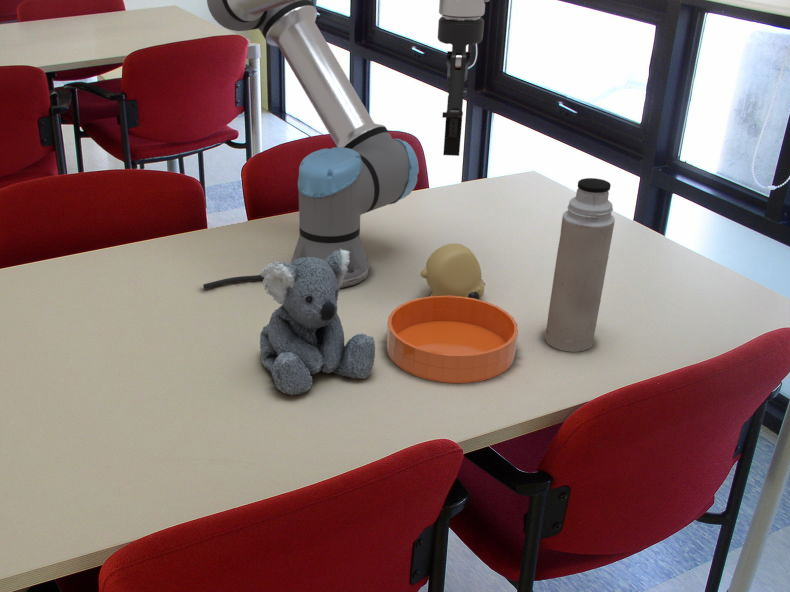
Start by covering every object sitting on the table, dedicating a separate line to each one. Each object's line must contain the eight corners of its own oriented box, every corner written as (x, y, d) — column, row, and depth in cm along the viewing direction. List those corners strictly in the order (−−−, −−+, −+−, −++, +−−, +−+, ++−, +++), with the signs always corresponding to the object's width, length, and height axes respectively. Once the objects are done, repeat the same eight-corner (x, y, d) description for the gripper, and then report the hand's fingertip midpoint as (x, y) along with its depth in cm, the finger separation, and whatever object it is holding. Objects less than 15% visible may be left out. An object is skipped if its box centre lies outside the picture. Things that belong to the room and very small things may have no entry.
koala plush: (283, 404, 137) (280, 287, 127) (236, 352, 151) (230, 243, 141) (381, 377, 144) (386, 264, 134) (328, 330, 158) (329, 224, 148)
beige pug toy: (446, 326, 166) (492, 299, 160) (406, 276, 164) (451, 246, 158) (459, 302, 174) (503, 275, 168) (421, 254, 172) (464, 225, 165)
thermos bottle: (547, 326, 159) (570, 171, 144) (594, 333, 156) (622, 176, 142) (542, 347, 152) (565, 187, 138) (590, 355, 150) (619, 193, 135)
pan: (382, 378, 144) (383, 350, 141) (391, 317, 162) (392, 292, 159) (517, 387, 141) (521, 359, 139) (511, 324, 159) (514, 299, 157)
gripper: (485, 31, 139) (473, 166, 150) (483, 4, 160) (473, 124, 171) (436, 30, 140) (427, 164, 151) (441, 3, 161) (433, 123, 172)
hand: (452, 143), depth 161 cm, fingers open, 13 cm apart
